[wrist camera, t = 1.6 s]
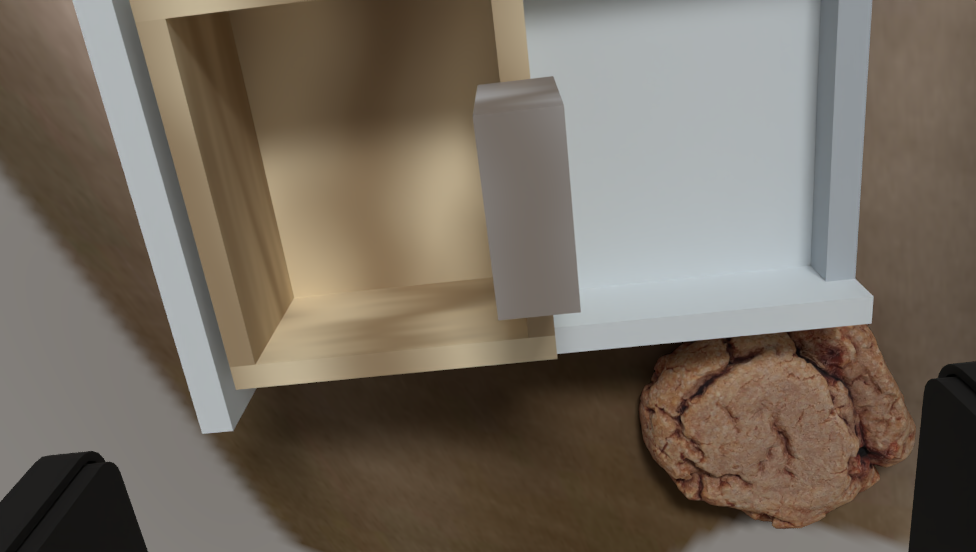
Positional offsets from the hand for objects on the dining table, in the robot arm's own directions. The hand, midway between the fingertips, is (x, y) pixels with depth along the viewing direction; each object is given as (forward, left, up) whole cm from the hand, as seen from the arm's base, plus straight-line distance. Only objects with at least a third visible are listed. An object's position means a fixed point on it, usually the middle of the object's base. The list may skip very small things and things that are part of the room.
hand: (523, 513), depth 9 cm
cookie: (-9, +13, -21) cm, 27 cm away
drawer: (+4, 0, -20) cm, 20 cm away
